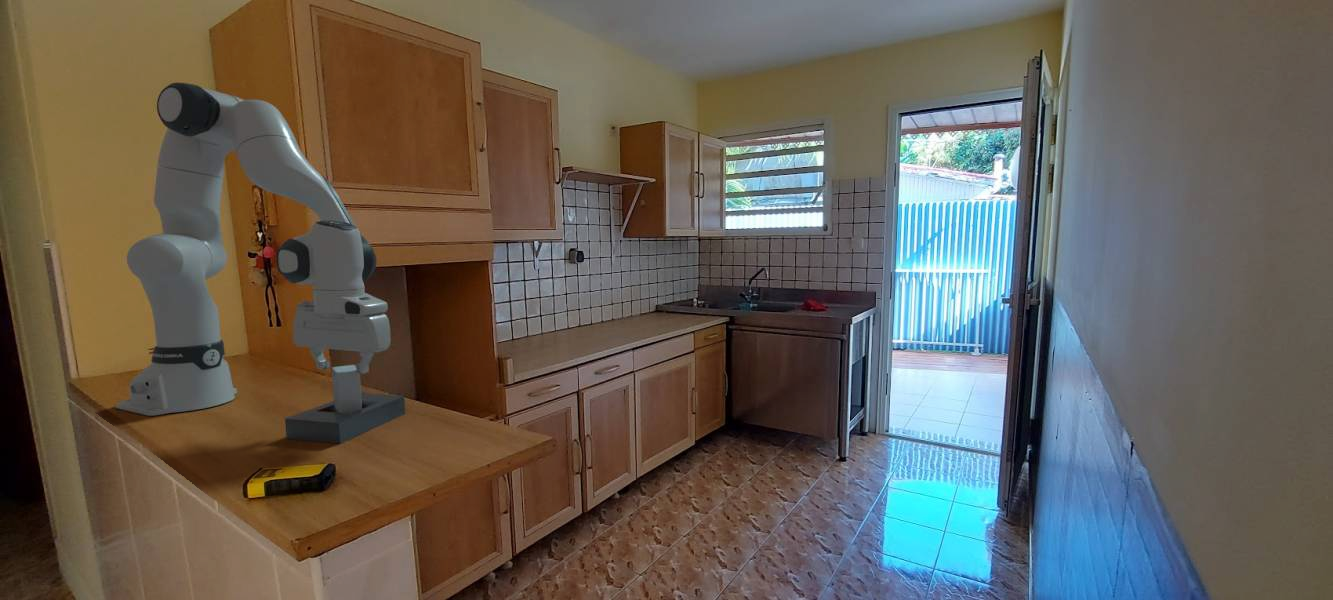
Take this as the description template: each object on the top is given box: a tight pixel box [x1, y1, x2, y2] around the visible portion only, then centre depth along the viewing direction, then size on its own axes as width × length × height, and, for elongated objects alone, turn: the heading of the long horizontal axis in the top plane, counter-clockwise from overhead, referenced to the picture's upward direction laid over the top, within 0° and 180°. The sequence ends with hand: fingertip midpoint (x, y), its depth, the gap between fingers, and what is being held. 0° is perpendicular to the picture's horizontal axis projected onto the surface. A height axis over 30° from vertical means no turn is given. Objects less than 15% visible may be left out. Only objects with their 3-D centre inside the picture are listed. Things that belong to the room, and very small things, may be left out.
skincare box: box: [331, 364, 362, 414], centre depth 110 cm, size 6×4×12 cm
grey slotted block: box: [284, 392, 406, 445], centre depth 111 cm, size 12×18×4 cm, turn 168°
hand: (342, 370), depth 109 cm, fingers open, 8 cm apart
